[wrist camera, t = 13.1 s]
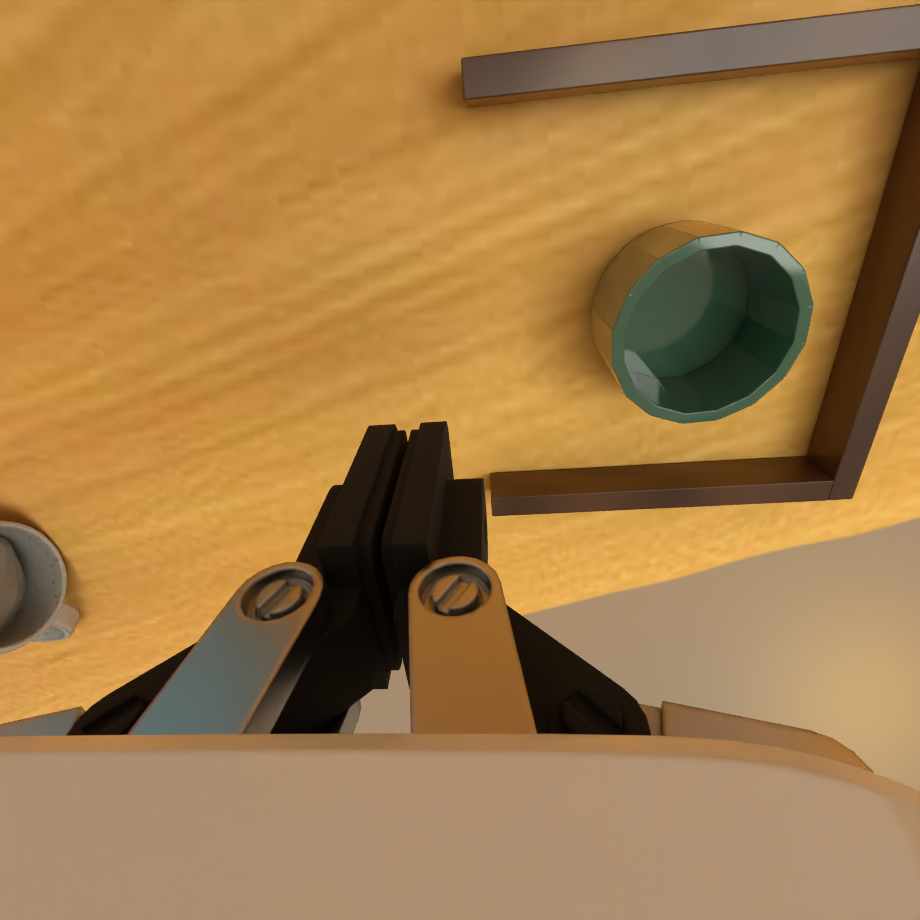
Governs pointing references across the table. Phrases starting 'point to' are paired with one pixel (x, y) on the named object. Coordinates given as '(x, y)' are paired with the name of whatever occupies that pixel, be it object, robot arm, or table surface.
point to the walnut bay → (876, 297)
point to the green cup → (700, 319)
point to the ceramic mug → (32, 589)
